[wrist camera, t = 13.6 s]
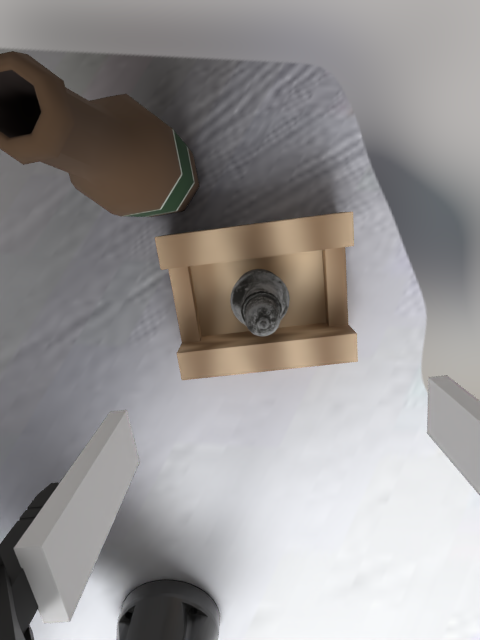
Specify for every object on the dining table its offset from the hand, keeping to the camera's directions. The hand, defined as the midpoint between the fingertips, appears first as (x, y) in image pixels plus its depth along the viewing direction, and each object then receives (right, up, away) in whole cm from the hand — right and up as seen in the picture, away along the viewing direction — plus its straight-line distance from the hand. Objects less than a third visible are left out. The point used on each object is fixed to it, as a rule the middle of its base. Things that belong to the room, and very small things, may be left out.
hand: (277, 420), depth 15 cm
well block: (0, +8, +23) cm, 25 cm away
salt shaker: (0, +7, +23) cm, 24 cm away
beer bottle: (-9, +19, +20) cm, 29 cm away
